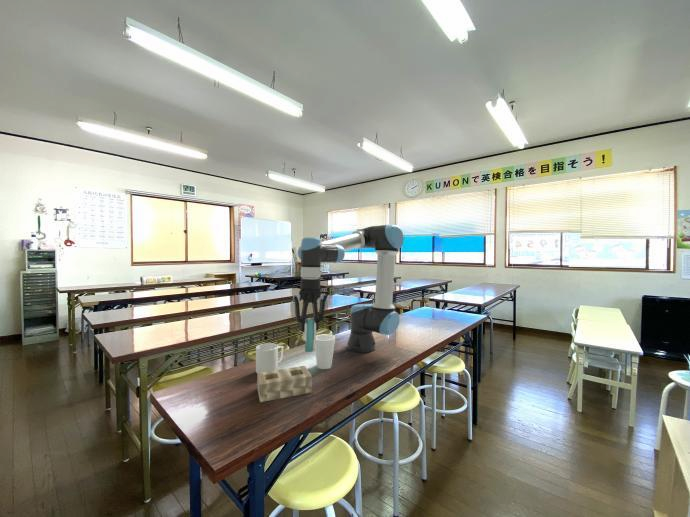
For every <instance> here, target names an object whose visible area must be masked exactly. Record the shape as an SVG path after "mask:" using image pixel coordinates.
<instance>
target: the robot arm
mask: <svg viewBox="0 0 690 517" xmlns="http://www.w3.org/2000/svg"><path fill="white" fill-rule="evenodd" d="M404 238H405V237H404V233H403V230H402V228H400V226H398V225H396V224H383V225H371V226H368V227H364V228H361V229H358V230H354V231H353V232H352V233H351V234H345V235H343V236H339V237H338V236H337V237H335V238H330V239H326V240H323V241H322V239H321V238H320V237H303V238H302V239H301V243H300V246H299V248H298V249H297V256H298V258H299V260H300V285H299V287H300V290H299V292H298V293H297V294H295V295H292V299H293V301H294V313H295V314H294V315H295V321H296V322H297V323H300V332H301V333H302V340H303V341H304V342H305V341H307V323H306V319H307V313H308V306H309V304H310V303H311V305H312V312H313V313H312V314H313V319H314V332H313V341H314V340H316V336H317V331H319V323H320V322H322V321H324V318H325V307H326V301H327V298H328V295H327V294H324V293H322V291H321V279H320V278H321V265H322V264H323V263H325V264H326V263H327V264H328V263H329V264H330V263H334V264H335V263H341V262H342V261H343V260H344V259H345V252H348V251H351V250H354V249H356V250H362V249H374V252H375V253H376V254H377V260H376V262H377V264H376V276H375V297H374V303H360V304H353V305H352V306H351V308H350V314H349V315H350V333H349V337H348V340H347V343H346V344H347V345H346V348H347V349H348V350H349V351H351V352H355V353H370V352H373V351H375V350H376V348H377V347H376V345H377V344H376V340H375V338H374V334H373V333H376V334H380V335H386V336H391V335H393V334H394V333H395V332H397V330H398V328H399V324H400V319H401V317H400V314H399V313H398V312H397V311H396V306H395V304H393V295H394V294H393V293H394V281H395V280H394V278H395V258H396V255H397V254H399V249H400V248H402V247H403V245H404V241H405V239H404ZM321 263H322V264H321ZM300 298H301V300H302V308H300ZM319 299H320V302H319V309H318V300H319ZM300 309H301V310H300ZM300 311H301V312H300ZM318 311H319V312H318Z"/></svg>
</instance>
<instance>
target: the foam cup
mask: <svg viewBox="0 0 690 517" xmlns="http://www.w3.org/2000/svg"><path fill="white" fill-rule="evenodd" d="M335 344H336V336H335V335H334V334H333V335H332V334H327V333H325V334H322V333H321V334H316V340H313V347H314V353H315V360H316V367H317V369H319V370H329V369H331V368H332V364H333V357H334V348H335Z"/></svg>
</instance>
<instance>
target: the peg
mask: <svg viewBox="0 0 690 517" xmlns="http://www.w3.org/2000/svg"><path fill="white" fill-rule="evenodd" d="M305 322H306V323H307V341H304V342H305V347H304V351H305V352H306V353H311V352H313V351H314V340H313V332H314V318H306V319H305Z"/></svg>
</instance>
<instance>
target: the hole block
mask: <svg viewBox="0 0 690 517" xmlns="http://www.w3.org/2000/svg"><path fill="white" fill-rule="evenodd" d="M256 374H257V375H256V377H257V379H256V380H257V381H256V382H257V383H256V384H257V385H256V386H257V394H258V398H259V402H260V403H264V402H267V401H273V400H279V399H284V398H289V397H294V396H300V395H305V394H309V393H310V394H311V393H312V392H313V388H312V387H313V386H312V385H313V382H312V381H313V376H312V374H311V373H310V370H308V368H307V366H306V365H301V366H294V367H288V368H281V369H279V368H278V370H273V371H266V372H259V373H256Z"/></svg>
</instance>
